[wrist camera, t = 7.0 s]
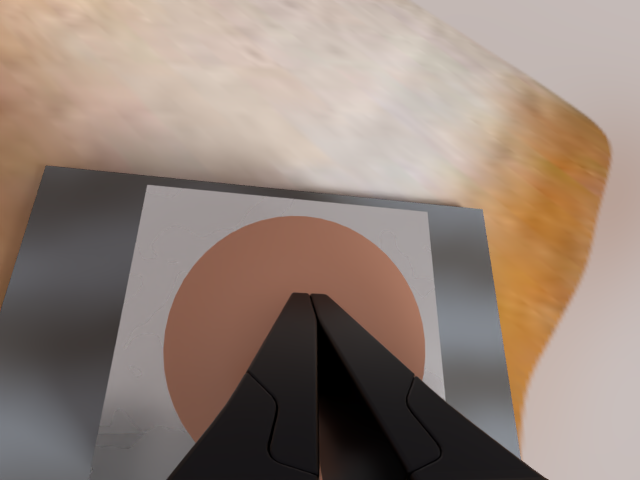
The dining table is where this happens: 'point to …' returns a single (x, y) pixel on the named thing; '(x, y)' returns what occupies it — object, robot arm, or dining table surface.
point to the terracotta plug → (276, 305)
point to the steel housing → (164, 282)
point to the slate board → (108, 298)
